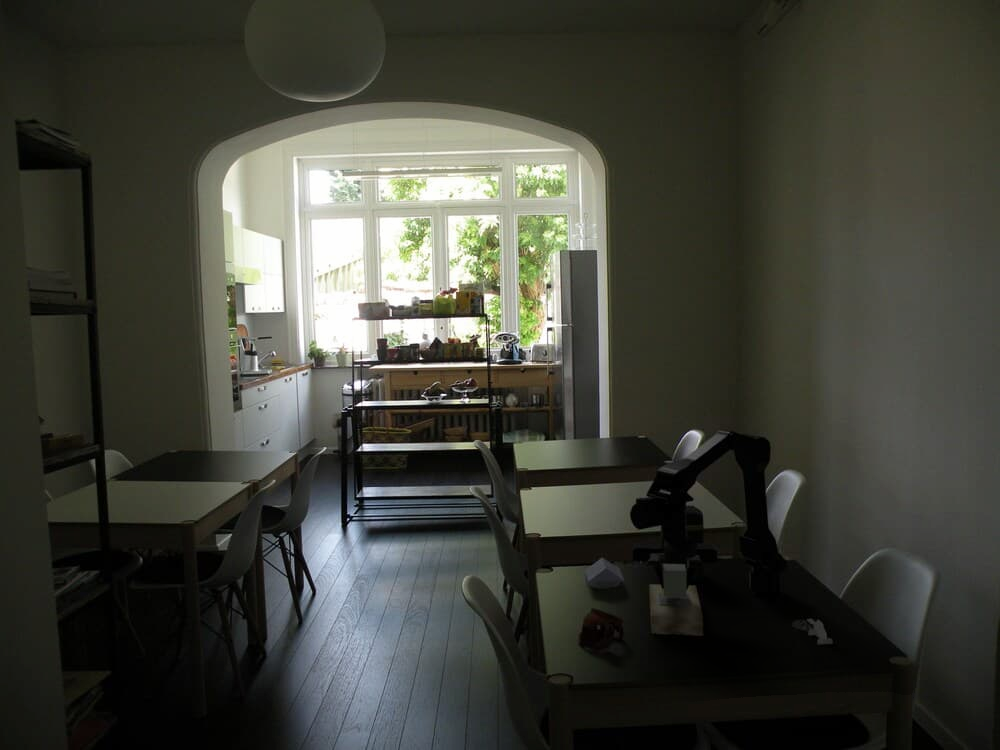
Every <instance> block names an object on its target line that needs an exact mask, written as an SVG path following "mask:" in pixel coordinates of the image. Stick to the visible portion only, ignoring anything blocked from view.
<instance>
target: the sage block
mask: <svg viewBox="0 0 1000 750" xmlns="http://www.w3.org/2000/svg"><path fill="white" fill-rule="evenodd" d="M662 574H663V581H664V589H663V591H664V597H687V585H686V568H685V564H673V563H672V564H667V563H662Z"/></svg>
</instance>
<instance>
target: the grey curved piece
mask: <svg viewBox="0 0 1000 750" xmlns="http://www.w3.org/2000/svg"><path fill="white" fill-rule="evenodd" d="M791 625H792V627H794V629H797V630H798V629H800V630H802V631H804V632H808V633H807V635H808V636H816V637H817V638H818V639H817V645H832V644H833V643H834V642H833V639H832V638H831V637H828V636H827V631H826V630H825V626H824V623H823V622H822V621H821V620H820V619H817V620H814V619H812V618H807V619H802V618H801V619H795V620H793V622H791Z"/></svg>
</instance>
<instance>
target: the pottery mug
mask: <svg viewBox="0 0 1000 750" xmlns="http://www.w3.org/2000/svg"><path fill="white" fill-rule="evenodd" d="M582 622H583V623H582V626H581V632H579V633H578V642H577V643H578V644H579V645H582V646H583V647H585V648H587V649H589V650H592V651H595V652H596V651H597V647H598V645H600V646H601V647H602V648H603V649H605V648H608V647H611V643H612V641H613V638H614V635H615V632H617V633H618V634H619V635H618V639H619V640H620V641H621V640H624V637H625V635H624V634H625V632H624V631H625V630H624V627H623V623H624V619H622V618H620V617H619V616H618V615H614V614H612V613H610V612H607V611H604V610H602V609H598V608H595V607H591V608H590V613H587V614H586V615H585V616H584V618H583V620H582ZM598 626H599V628H598Z"/></svg>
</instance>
